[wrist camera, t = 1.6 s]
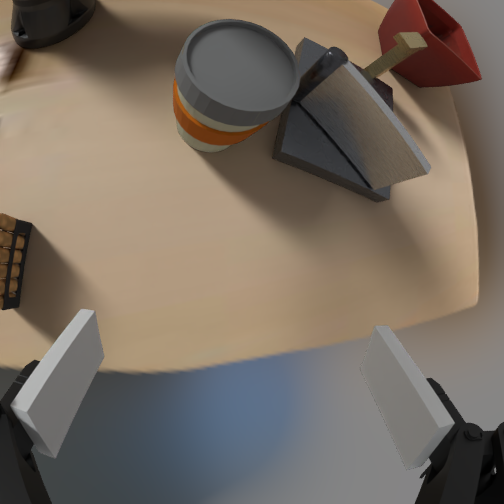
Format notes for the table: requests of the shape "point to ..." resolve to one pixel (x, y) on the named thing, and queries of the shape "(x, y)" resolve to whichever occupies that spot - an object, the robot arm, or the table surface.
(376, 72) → the wooden l-shaped post
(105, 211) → the table surface
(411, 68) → the plant pot
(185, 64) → the reusable coffee cup
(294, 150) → the dark grey flat slab
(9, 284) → the ammunition clip
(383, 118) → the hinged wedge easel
